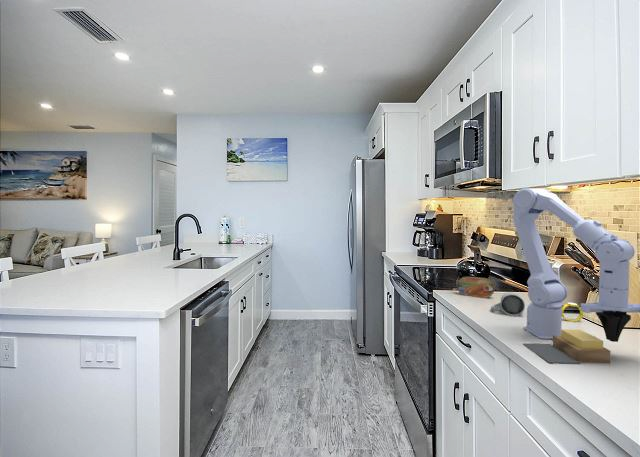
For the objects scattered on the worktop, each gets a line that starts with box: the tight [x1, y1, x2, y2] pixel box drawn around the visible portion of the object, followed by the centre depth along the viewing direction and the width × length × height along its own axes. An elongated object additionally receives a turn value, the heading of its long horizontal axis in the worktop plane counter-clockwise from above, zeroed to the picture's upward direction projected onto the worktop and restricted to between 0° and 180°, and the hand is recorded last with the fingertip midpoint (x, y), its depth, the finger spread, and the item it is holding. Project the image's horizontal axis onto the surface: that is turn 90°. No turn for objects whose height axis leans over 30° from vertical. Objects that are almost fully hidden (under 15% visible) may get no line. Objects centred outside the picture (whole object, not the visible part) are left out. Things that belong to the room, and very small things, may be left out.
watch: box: [562, 302, 584, 322], centre depth 115 cm, size 6×3×6 cm, turn 74°
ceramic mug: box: [490, 291, 526, 317], centre depth 125 cm, size 11×8×8 cm
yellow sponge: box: [561, 329, 604, 349], centre depth 88 cm, size 8×5×2 cm, turn 176°
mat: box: [522, 342, 581, 365], centre depth 89 cm, size 12×7×1 cm, turn 176°
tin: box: [456, 276, 496, 299], centre depth 149 cm, size 15×3×8 cm, turn 55°
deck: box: [552, 335, 612, 364], centre depth 88 cm, size 10×8×3 cm
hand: (612, 340), depth 87 cm, fingers closed
